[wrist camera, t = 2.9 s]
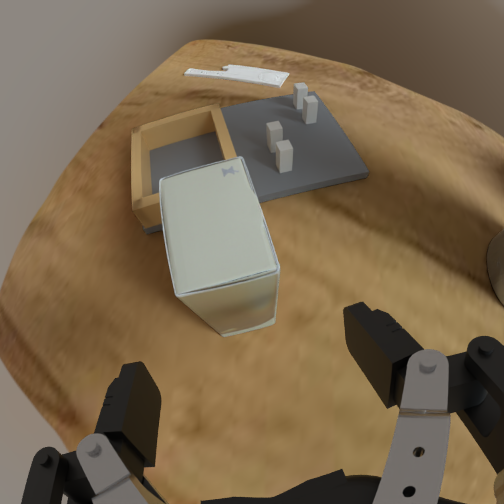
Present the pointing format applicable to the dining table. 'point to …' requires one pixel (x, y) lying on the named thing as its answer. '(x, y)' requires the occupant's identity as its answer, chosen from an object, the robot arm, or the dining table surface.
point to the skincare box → (220, 246)
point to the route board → (245, 148)
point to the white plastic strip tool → (243, 75)
